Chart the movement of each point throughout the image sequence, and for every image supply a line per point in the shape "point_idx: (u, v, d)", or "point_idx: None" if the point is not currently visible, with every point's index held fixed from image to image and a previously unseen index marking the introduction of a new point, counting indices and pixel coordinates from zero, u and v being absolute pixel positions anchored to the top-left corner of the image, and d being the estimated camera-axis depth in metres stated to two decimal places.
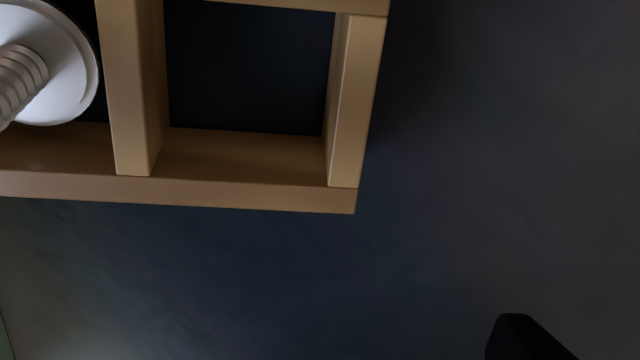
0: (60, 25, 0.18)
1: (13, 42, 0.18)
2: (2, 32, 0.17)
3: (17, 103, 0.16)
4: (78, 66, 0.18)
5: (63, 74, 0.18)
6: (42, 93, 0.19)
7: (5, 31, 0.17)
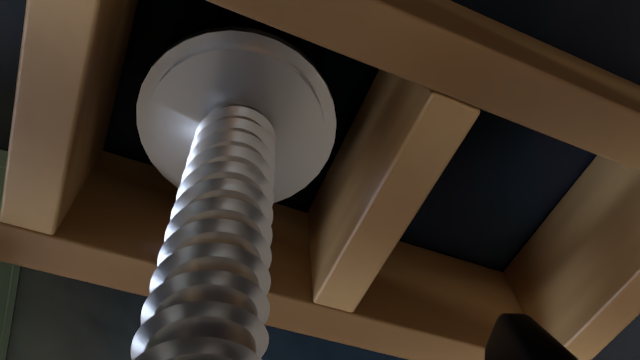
0: (317, 98, 0.12)
1: (243, 102, 0.12)
2: (236, 86, 0.12)
3: None
4: (312, 152, 0.13)
5: (287, 157, 0.13)
6: None
7: (241, 86, 0.12)
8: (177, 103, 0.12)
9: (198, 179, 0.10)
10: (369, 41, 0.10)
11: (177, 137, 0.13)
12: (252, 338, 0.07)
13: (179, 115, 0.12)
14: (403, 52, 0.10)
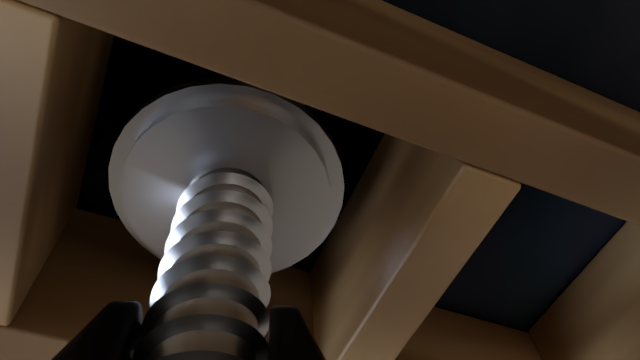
0: (322, 159, 0.11)
1: (234, 165, 0.10)
2: (226, 148, 0.10)
3: None
4: (316, 220, 0.11)
5: (286, 225, 0.11)
6: None
7: (232, 148, 0.10)
8: (156, 167, 0.10)
9: (177, 279, 0.08)
10: (388, 107, 0.08)
11: (157, 205, 0.11)
12: None
13: (159, 181, 0.10)
14: (431, 120, 0.08)
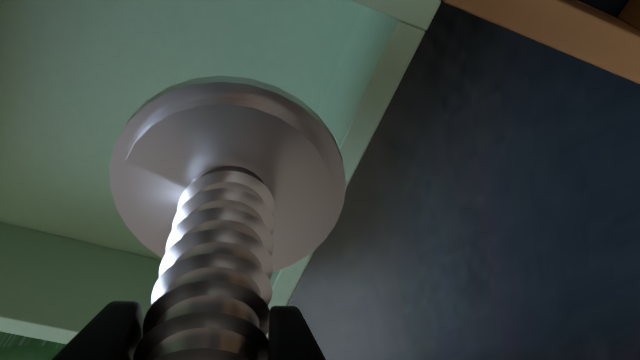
0: (323, 158, 0.10)
1: (236, 163, 0.10)
2: (228, 146, 0.10)
3: None
4: (317, 219, 0.11)
5: (288, 224, 0.11)
6: None
7: (233, 147, 0.10)
8: (157, 166, 0.10)
9: (178, 276, 0.08)
10: None
11: (158, 203, 0.11)
12: None
13: (160, 179, 0.10)
14: None
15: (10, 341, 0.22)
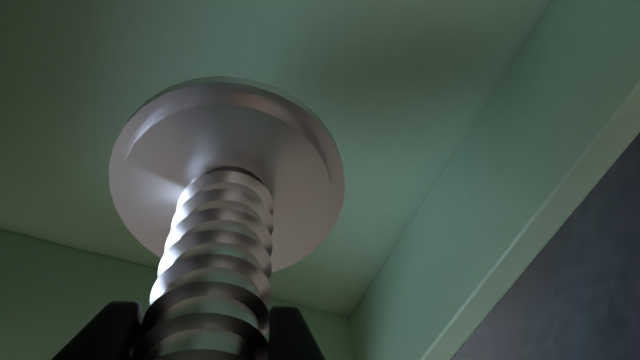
0: (322, 158, 0.10)
1: (235, 164, 0.10)
2: (227, 147, 0.10)
3: None
4: (317, 219, 0.11)
5: (287, 224, 0.11)
6: None
7: (232, 147, 0.10)
8: (156, 166, 0.10)
9: (177, 277, 0.08)
10: None
11: (157, 204, 0.11)
12: None
13: (159, 179, 0.10)
14: None
15: None
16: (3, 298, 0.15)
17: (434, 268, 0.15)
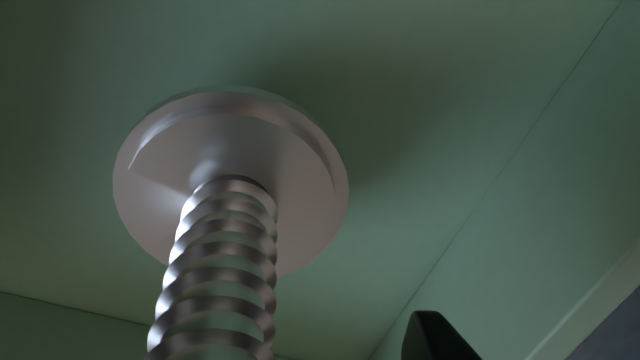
0: (326, 166, 0.10)
1: (239, 172, 0.10)
2: (231, 155, 0.10)
3: None
4: (320, 227, 0.11)
5: (291, 231, 0.11)
6: None
7: (236, 155, 0.10)
8: (160, 174, 0.10)
9: (183, 290, 0.08)
10: None
11: (161, 212, 0.11)
12: None
13: (163, 188, 0.10)
14: None
15: None
16: None
17: None
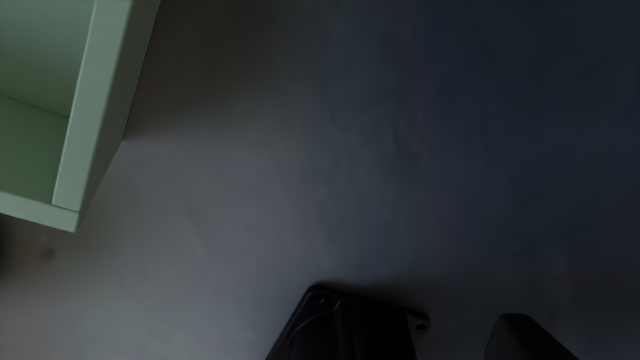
0: None
1: None
2: None
3: None
4: None
5: None
6: None
7: None
8: None
9: None
10: None
11: None
12: None
13: None
14: None
15: None
16: None
17: None
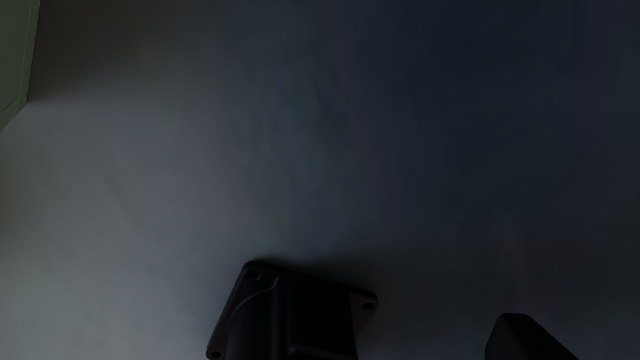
0: None
1: None
2: None
3: None
4: None
5: None
6: None
7: None
8: None
9: None
10: None
11: None
12: None
13: None
14: None
15: None
16: None
17: None
